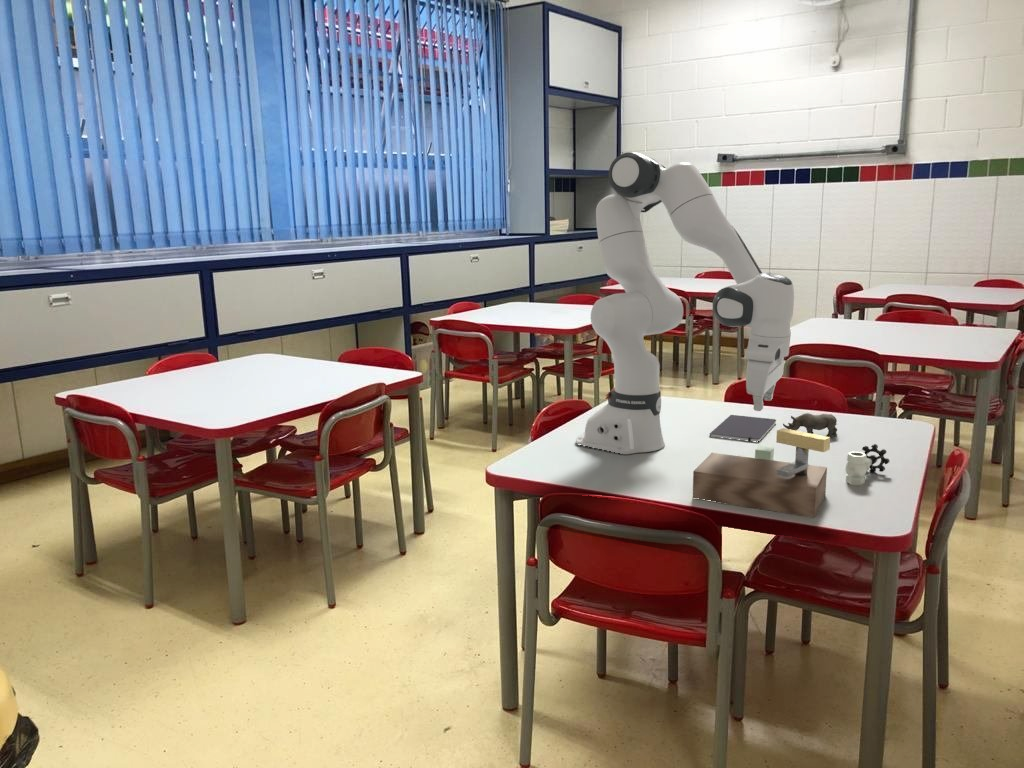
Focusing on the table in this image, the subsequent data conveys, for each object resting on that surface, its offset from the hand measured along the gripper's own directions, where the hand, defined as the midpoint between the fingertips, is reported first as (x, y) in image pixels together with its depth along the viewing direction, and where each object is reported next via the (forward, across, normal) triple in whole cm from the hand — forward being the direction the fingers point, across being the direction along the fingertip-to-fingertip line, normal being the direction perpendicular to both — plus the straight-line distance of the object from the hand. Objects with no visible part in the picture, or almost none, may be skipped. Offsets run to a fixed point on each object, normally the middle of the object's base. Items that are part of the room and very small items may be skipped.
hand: (763, 405), depth 186 cm
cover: (+15, +4, +2) cm, 15 cm away
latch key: (+7, +25, +12) cm, 29 cm away
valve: (+13, +1, +23) cm, 26 cm away
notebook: (+16, -27, -10) cm, 33 cm away
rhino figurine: (+15, -29, +6) cm, 33 cm away
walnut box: (+13, +22, +6) cm, 26 cm away
